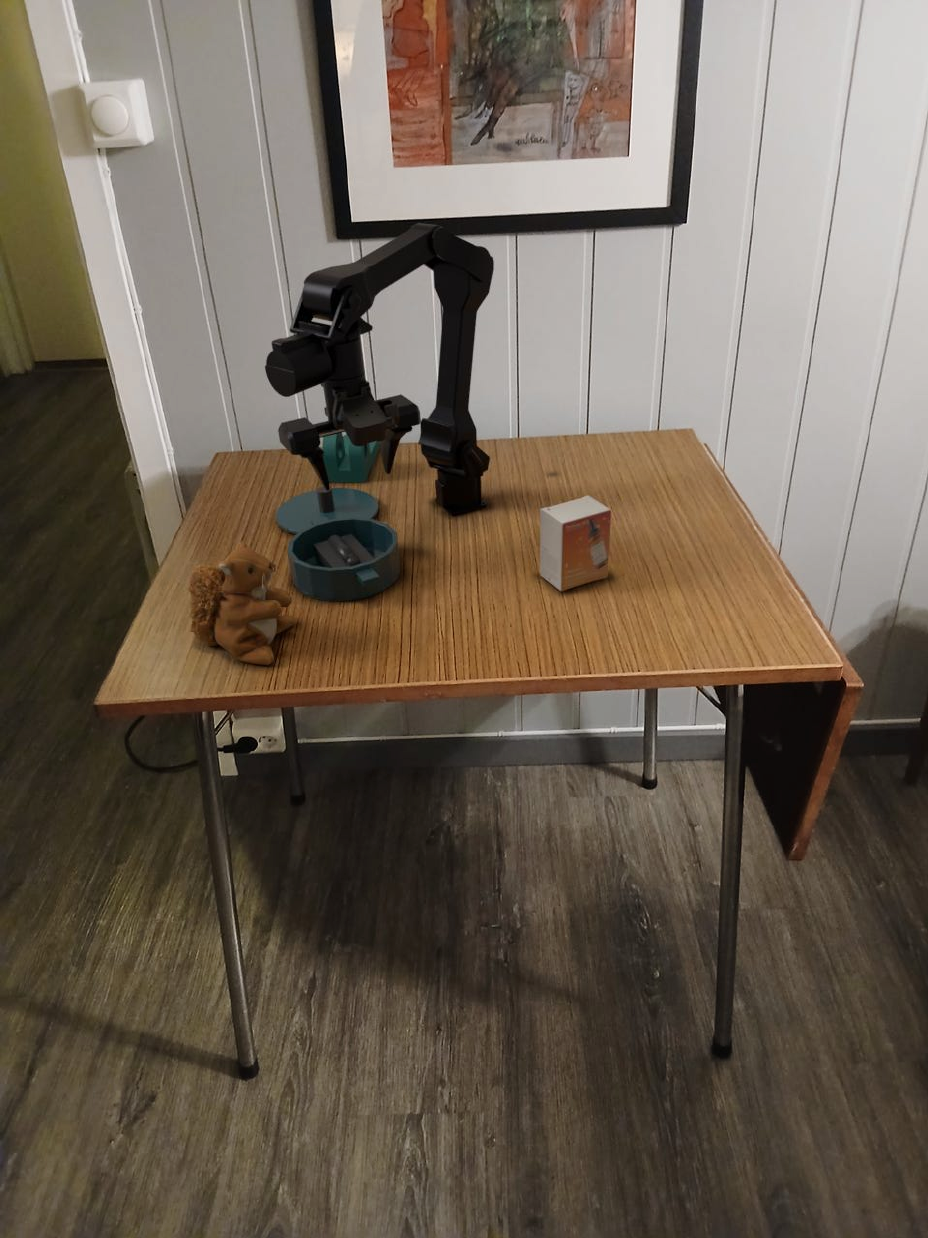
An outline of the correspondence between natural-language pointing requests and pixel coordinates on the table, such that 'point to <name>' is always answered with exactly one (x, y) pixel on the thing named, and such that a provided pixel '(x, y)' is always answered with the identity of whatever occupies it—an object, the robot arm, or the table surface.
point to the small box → (574, 542)
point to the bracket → (348, 458)
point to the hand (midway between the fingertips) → (357, 481)
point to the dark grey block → (341, 552)
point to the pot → (352, 578)
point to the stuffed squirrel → (239, 605)
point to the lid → (325, 507)
